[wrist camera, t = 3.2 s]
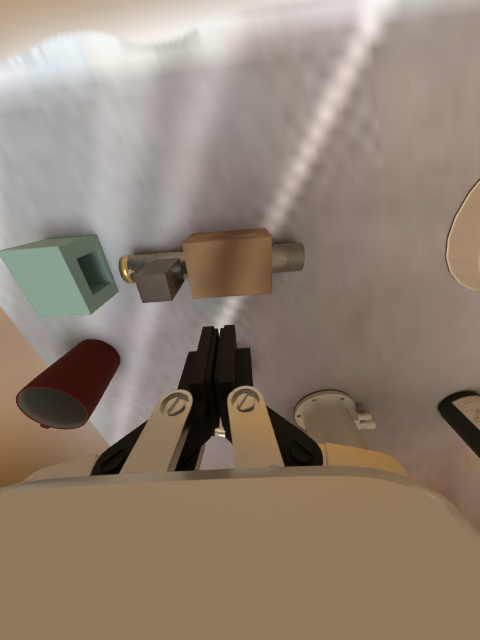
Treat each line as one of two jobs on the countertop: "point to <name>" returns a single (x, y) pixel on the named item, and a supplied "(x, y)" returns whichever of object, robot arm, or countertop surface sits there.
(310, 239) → the countertop surface
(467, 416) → the wine bottle
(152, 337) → the countertop surface
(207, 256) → the guide sleeve
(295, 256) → the slide bolt
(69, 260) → the socket block
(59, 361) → the mug
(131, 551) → the robot arm
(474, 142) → the countertop surface
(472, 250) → the kettle
